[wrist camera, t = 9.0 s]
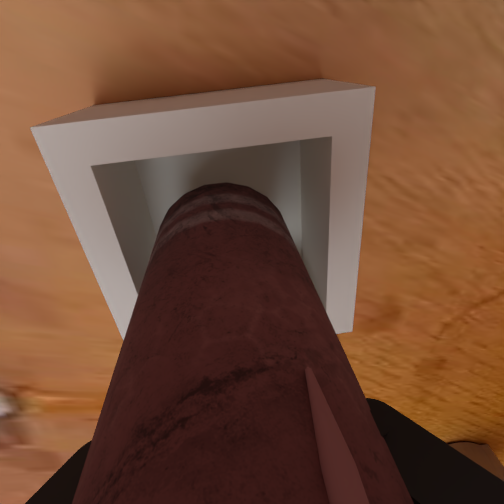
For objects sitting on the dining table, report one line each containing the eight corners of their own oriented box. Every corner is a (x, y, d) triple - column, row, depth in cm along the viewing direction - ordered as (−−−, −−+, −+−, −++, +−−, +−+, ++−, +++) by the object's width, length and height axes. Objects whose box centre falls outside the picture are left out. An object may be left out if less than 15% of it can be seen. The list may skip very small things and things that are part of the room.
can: (302, 188, 15) (702, 737, 3) (266, 294, 18) (379, 776, 6) (169, 158, 13) (-195, 980, 1) (154, 279, 16) (0, 864, 4)
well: (322, 78, 17) (375, 86, 11) (319, 266, 23) (352, 331, 17) (93, 105, 16) (30, 127, 11) (153, 288, 23) (133, 362, 17)
